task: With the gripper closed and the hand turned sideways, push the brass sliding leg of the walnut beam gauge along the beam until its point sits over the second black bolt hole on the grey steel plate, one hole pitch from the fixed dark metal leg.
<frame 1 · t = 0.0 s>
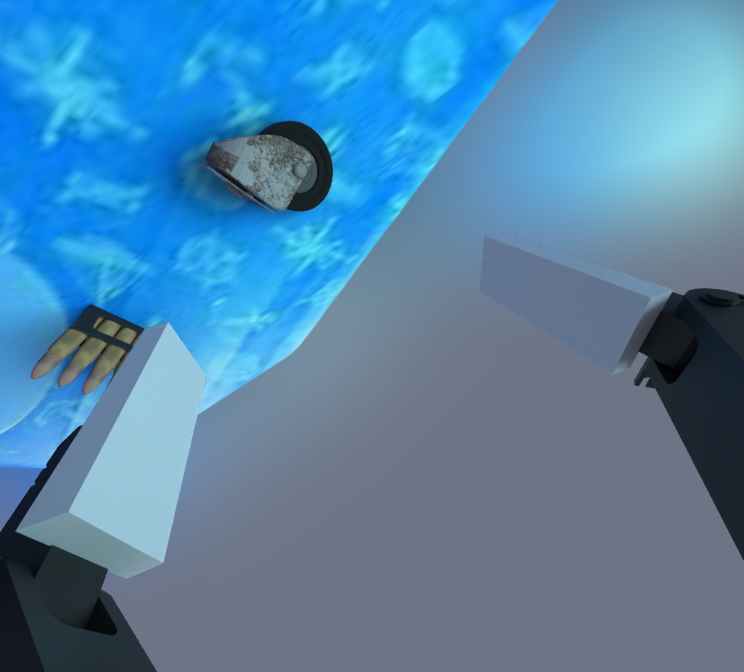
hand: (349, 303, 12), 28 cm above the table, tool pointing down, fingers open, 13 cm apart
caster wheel: (275, 163, 32), on the table
ammunition clip: (138, 331, 36), on the table
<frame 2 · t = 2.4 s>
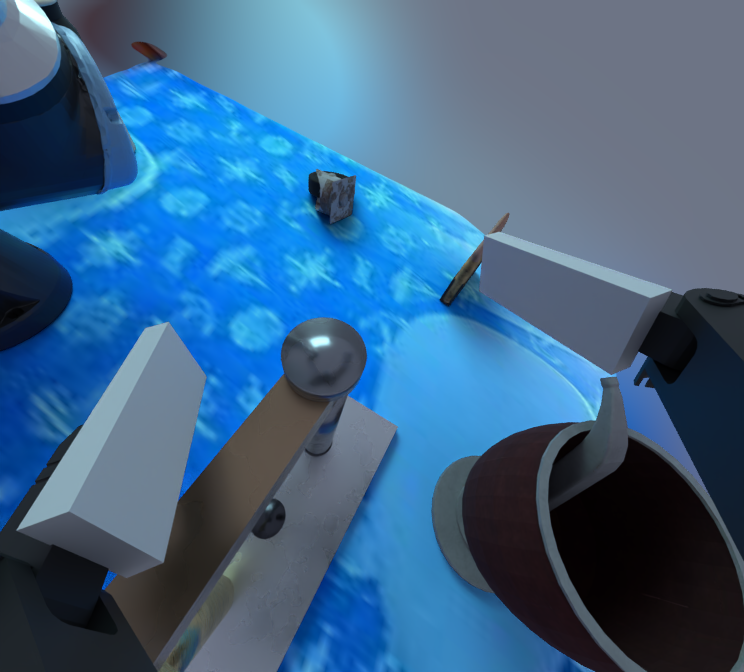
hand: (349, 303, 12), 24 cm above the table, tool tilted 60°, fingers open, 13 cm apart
beam gauge: (269, 517, 27), on the table
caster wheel: (328, 203, 52), on the table
sliding leg: (145, 651, 14), point 12 cm above the table, slide at 0.0 cm
mate gourd: (482, 508, 31), on the table
ammunition clip: (457, 286, 48), on the table
travel mug: (110, 151, 48), on the table
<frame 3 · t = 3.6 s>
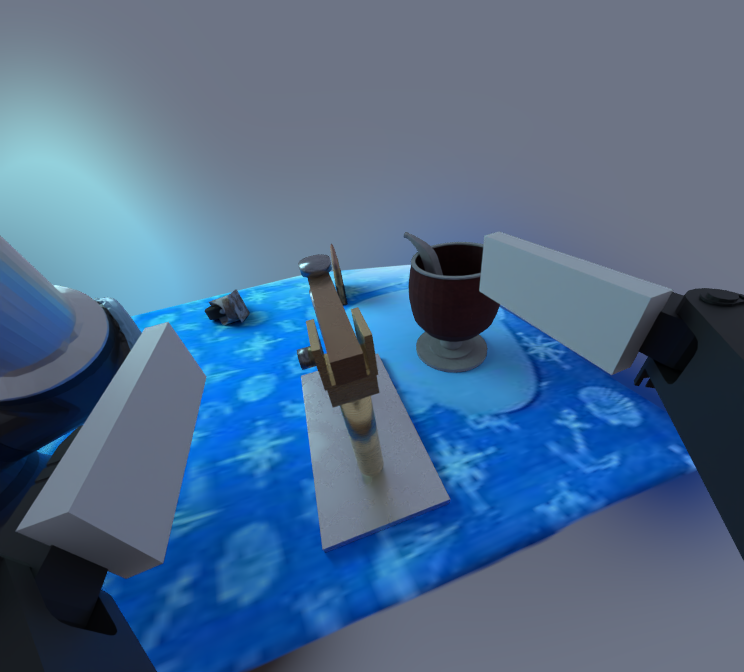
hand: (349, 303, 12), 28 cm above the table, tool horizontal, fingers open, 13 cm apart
beam gauge: (361, 433, 39), on the table
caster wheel: (229, 318, 70), on the table
sliding leg: (352, 415, 27), point 12 cm above the table, slide at 0.0 cm
mate gourd: (446, 347, 51), on the table
ammunition clip: (342, 295, 72), on the table
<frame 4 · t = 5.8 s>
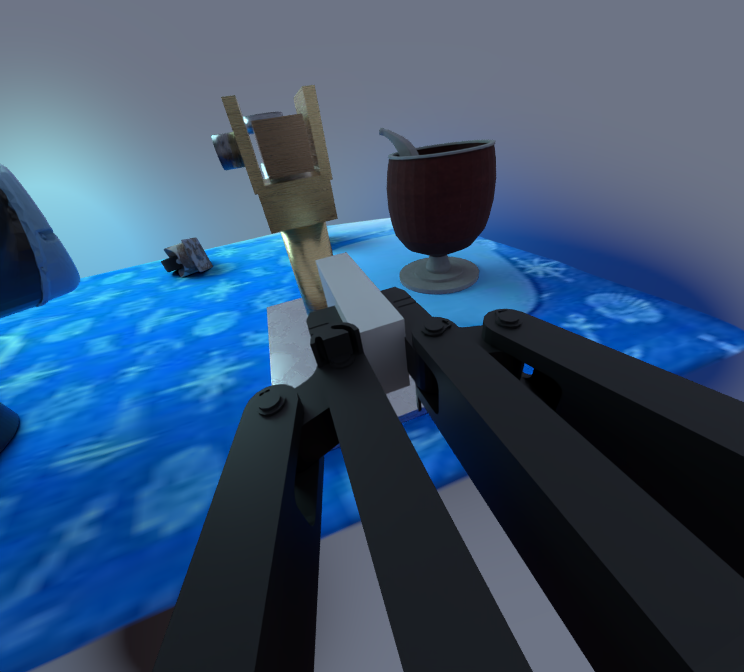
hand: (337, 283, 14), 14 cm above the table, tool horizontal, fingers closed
beam gauge: (333, 352, 32), on the table
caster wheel: (190, 272, 63), on the table
sliding leg: (309, 281, 21), point 12 cm above the table, slide at 0.0 cm
mate gourd: (433, 275, 45), on the table
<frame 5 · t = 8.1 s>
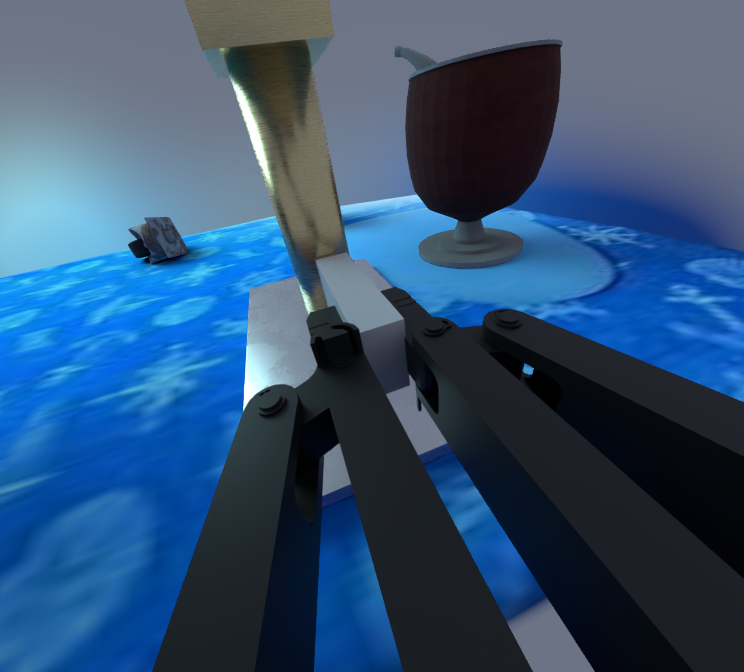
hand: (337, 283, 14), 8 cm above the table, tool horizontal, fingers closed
beam gauge: (337, 343, 23), on the table
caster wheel: (163, 259, 53), on the table
sliding leg: (290, 193, 12), point 12 cm above the table, slide at 1.7 cm, touching gripper
mate gourd: (461, 249, 36), on the table
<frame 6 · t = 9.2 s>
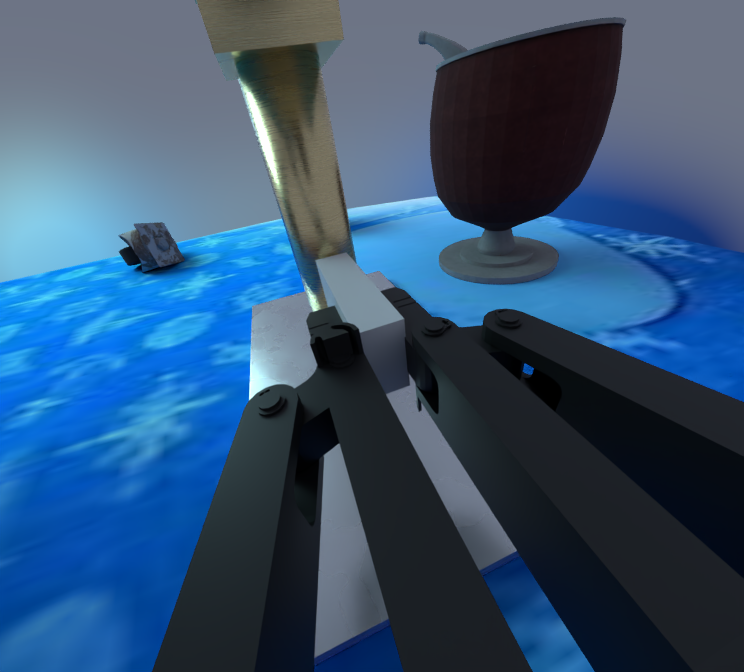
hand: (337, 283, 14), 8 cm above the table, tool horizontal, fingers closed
beam gauge: (356, 378, 19), on the table
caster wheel: (157, 266, 50), on the table
sliding leg: (297, 194, 13), point 12 cm above the table, slide at 6.2 cm, touching gripper
mate gourd: (486, 260, 32), on the table
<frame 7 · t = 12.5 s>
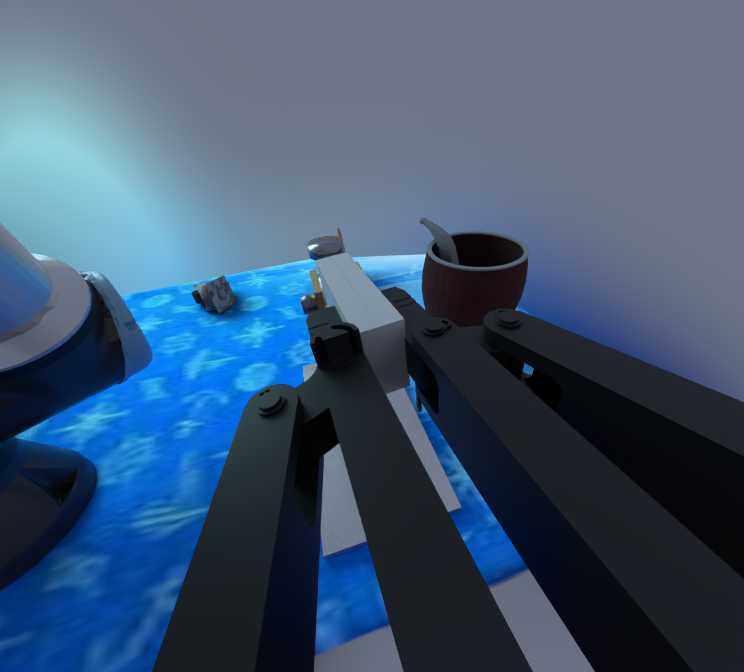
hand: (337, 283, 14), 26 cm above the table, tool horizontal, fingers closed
beam gauge: (365, 430, 37), on the table
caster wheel: (216, 304, 66), on the table
sliding leg: (348, 367, 29), point 12 cm above the table, slide at 6.3 cm
mate gourd: (456, 343, 48), on the table
ammunition clip: (346, 283, 69), on the table
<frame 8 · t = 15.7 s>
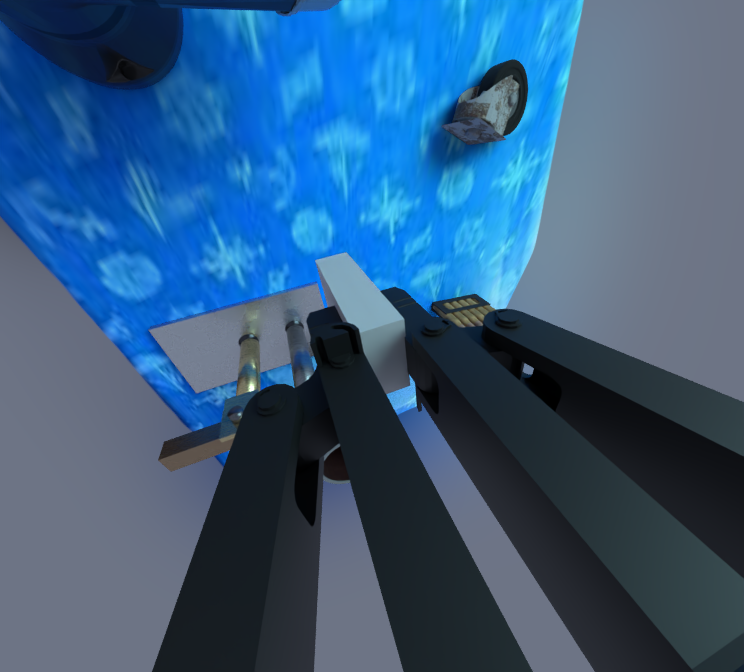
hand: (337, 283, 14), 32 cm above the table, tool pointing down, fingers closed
beam gauge: (248, 339, 49), on the table
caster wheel: (480, 105, 41), on the table
sliding leg: (247, 379, 39), point 12 cm above the table, slide at 6.3 cm
mate gourd: (336, 391, 62), on the table
ammunition clip: (453, 301, 60), on the table
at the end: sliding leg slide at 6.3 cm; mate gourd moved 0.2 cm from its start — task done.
